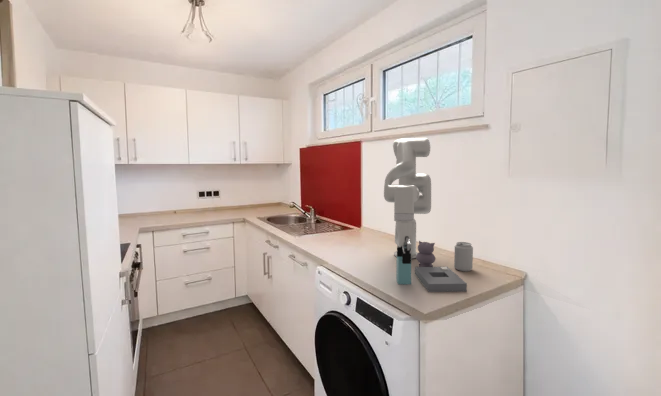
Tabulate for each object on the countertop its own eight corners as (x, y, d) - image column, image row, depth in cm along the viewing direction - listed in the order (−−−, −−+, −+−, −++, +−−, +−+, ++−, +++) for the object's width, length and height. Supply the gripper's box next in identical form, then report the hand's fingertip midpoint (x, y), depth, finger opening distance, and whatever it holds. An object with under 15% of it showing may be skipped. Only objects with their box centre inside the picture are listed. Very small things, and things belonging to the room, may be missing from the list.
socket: (414, 273, 137) (414, 265, 136) (447, 273, 136) (447, 265, 136) (428, 291, 117) (428, 282, 116) (466, 291, 116) (466, 282, 116)
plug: (396, 280, 129) (396, 256, 128) (408, 280, 129) (408, 256, 128) (398, 284, 125) (398, 259, 124) (411, 284, 125) (411, 259, 124)
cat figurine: (412, 268, 144) (413, 242, 143) (420, 263, 150) (420, 239, 149) (430, 271, 139) (431, 245, 138) (438, 267, 145) (438, 241, 143)
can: (457, 265, 147) (457, 240, 145) (474, 268, 142) (475, 242, 141) (451, 269, 141) (452, 243, 140) (469, 273, 136) (470, 246, 135)
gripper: (390, 214, 133) (390, 254, 134) (399, 220, 115) (398, 266, 117) (408, 214, 133) (407, 254, 134) (419, 220, 115) (419, 266, 116)
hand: (403, 260), depth 125 cm, fingers open, 9 cm apart
